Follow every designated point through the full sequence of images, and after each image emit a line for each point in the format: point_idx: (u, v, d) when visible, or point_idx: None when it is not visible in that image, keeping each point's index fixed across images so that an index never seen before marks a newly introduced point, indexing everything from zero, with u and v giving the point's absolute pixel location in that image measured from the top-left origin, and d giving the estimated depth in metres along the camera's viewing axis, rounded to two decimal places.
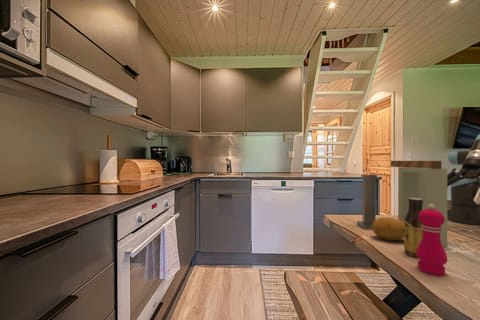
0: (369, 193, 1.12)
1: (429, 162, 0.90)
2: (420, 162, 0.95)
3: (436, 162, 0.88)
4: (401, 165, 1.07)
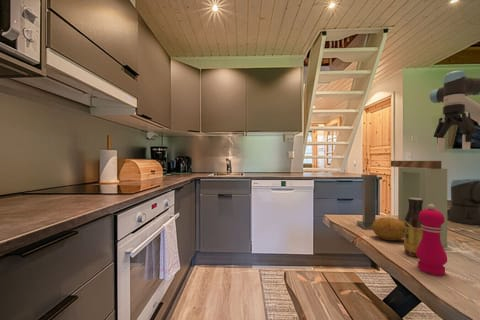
0: (369, 193, 1.12)
1: (429, 162, 0.90)
2: (420, 162, 0.95)
3: (436, 162, 0.88)
4: (401, 165, 1.07)
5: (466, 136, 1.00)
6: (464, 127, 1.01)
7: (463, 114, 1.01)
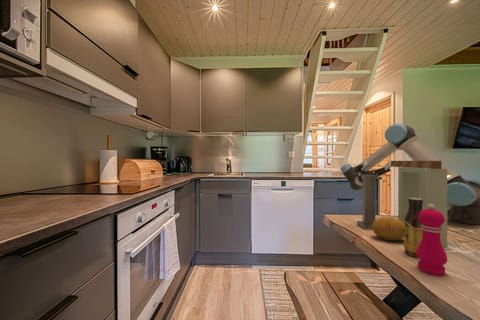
0: (369, 193, 1.12)
1: (429, 162, 0.90)
2: (420, 162, 0.95)
3: (436, 162, 0.88)
4: (401, 165, 1.07)
5: (360, 168, 1.36)
6: None
7: (356, 176, 1.44)
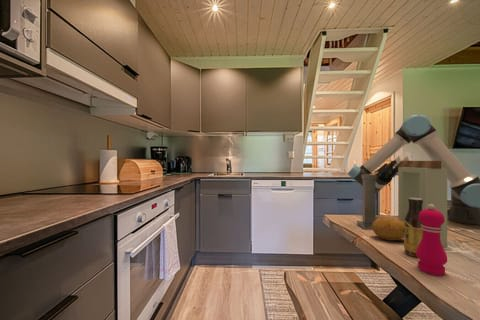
0: (369, 193, 1.12)
1: (429, 162, 0.90)
2: (420, 162, 0.95)
3: (436, 162, 0.88)
4: (401, 165, 1.07)
5: (393, 165, 1.12)
6: (388, 169, 1.16)
7: None
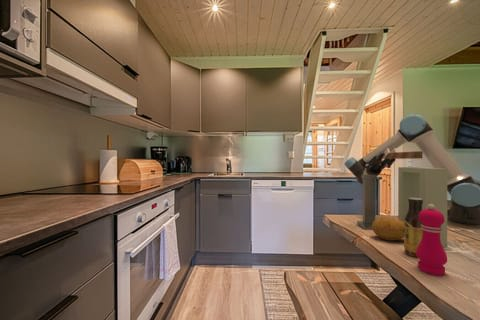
0: (369, 193, 1.12)
1: (412, 153, 1.00)
2: (404, 153, 1.05)
3: (417, 153, 0.98)
4: (389, 157, 1.17)
5: (382, 157, 1.22)
6: (377, 161, 1.26)
7: (367, 167, 1.31)
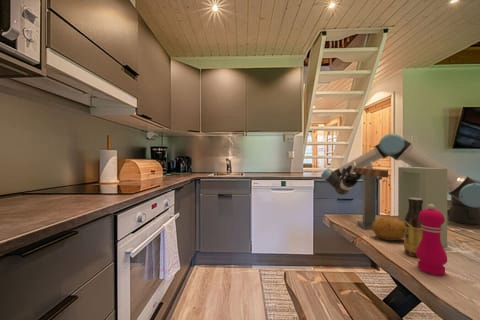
0: (369, 193, 1.12)
1: (378, 171, 1.01)
2: (373, 170, 1.06)
3: (383, 171, 0.99)
4: (360, 172, 1.18)
5: (349, 169, 1.24)
6: (347, 173, 1.27)
7: (341, 178, 1.32)
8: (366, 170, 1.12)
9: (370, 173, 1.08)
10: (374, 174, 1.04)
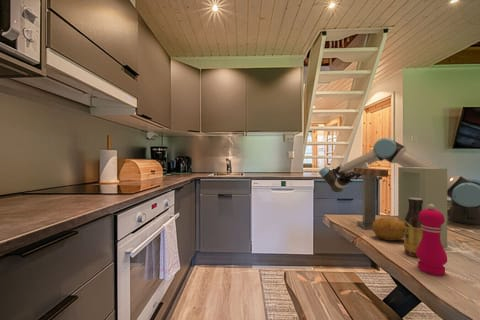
0: (369, 193, 1.12)
1: (378, 171, 1.01)
2: (372, 170, 1.06)
3: (383, 171, 0.99)
4: (360, 172, 1.18)
5: (338, 170, 1.34)
6: None
7: (335, 178, 1.42)
8: (366, 170, 1.12)
9: (370, 173, 1.08)
10: (374, 174, 1.04)
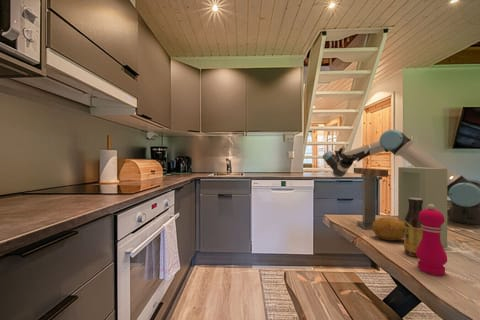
0: (369, 193, 1.12)
1: (378, 171, 1.01)
2: (372, 170, 1.06)
3: (383, 171, 0.99)
4: (360, 172, 1.18)
5: (340, 151, 1.37)
6: None
7: (337, 160, 1.45)
8: (366, 170, 1.12)
9: (370, 173, 1.08)
10: (374, 174, 1.04)
